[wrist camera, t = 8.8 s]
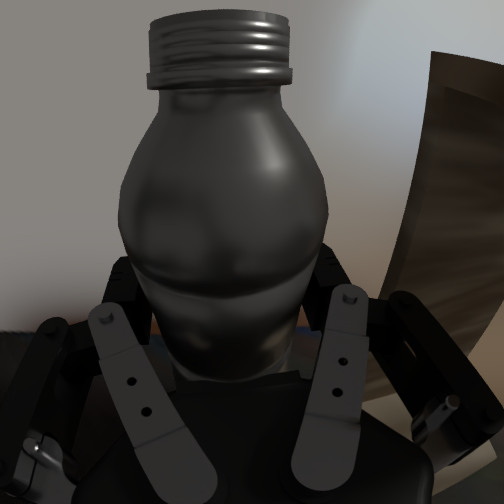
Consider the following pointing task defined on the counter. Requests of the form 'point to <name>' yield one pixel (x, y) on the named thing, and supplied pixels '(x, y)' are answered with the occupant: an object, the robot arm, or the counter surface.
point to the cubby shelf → (451, 228)
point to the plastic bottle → (223, 197)
